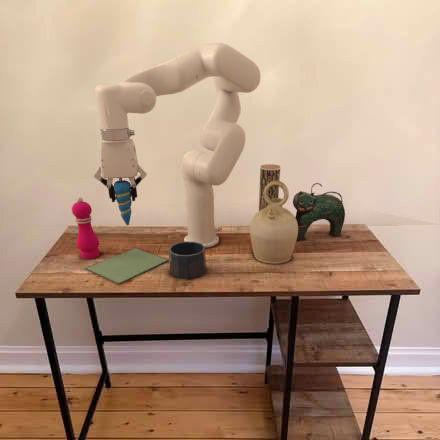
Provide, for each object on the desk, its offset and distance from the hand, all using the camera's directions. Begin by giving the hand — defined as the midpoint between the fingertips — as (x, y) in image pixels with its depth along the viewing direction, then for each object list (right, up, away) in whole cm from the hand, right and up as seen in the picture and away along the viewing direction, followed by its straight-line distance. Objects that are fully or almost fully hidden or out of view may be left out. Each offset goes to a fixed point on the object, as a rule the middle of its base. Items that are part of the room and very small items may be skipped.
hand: (123, 199), depth 119 cm
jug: (+46, -15, +15) cm, 51 cm away
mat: (-1, -19, +11) cm, 21 cm away
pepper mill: (-16, -15, +17) cm, 28 cm away
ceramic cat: (+64, -7, +30) cm, 71 cm away
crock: (+18, -21, +7) cm, 28 cm away
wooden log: (+46, -6, +32) cm, 56 cm away
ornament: (0, -7, +4) cm, 8 cm away
